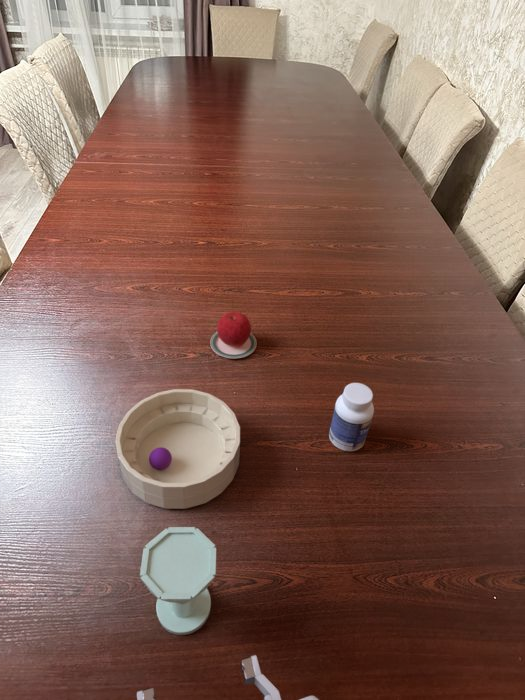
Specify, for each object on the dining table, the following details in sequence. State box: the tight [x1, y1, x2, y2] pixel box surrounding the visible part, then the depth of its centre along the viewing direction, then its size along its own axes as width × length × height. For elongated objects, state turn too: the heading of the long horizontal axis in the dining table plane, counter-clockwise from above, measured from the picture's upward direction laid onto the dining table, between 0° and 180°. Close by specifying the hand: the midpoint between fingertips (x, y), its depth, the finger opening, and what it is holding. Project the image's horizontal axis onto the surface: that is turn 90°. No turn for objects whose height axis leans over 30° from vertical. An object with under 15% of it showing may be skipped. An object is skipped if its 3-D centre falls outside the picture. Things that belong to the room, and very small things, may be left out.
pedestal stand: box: [139, 526, 217, 636], centre depth 54 cm, size 7×7×11 cm
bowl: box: [114, 388, 241, 510], centre depth 71 cm, size 16×16×6 cm
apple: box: [209, 311, 257, 360], centre depth 89 cm, size 8×8×6 cm
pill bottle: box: [328, 382, 375, 452], centre depth 74 cm, size 5×5×10 cm
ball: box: [149, 447, 172, 470], centre depth 70 cm, size 3×3×3 cm
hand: (198, 674), depth 47 cm, fingers open, 8 cm apart
